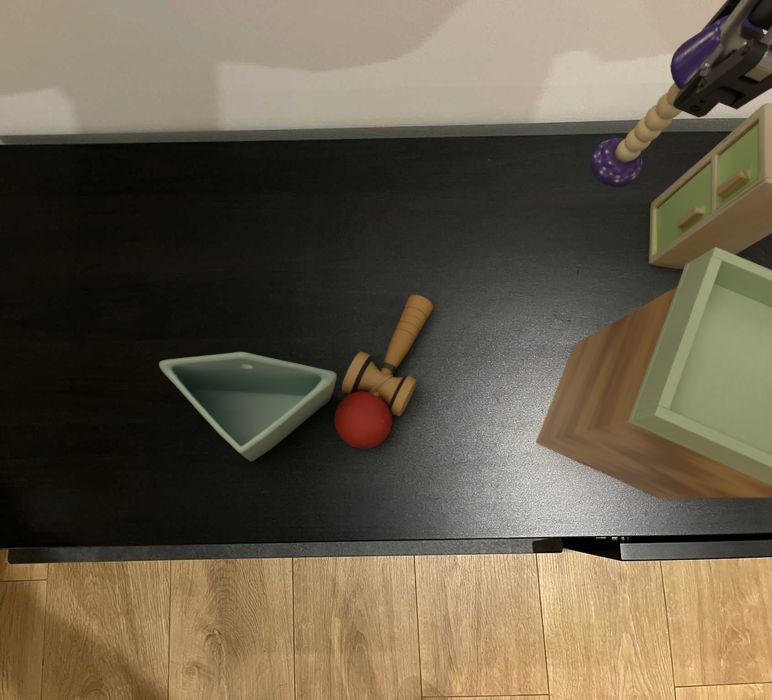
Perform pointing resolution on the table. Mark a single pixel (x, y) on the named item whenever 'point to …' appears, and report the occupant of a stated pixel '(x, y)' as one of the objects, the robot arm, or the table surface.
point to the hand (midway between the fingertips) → (701, 74)
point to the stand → (612, 411)
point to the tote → (715, 365)
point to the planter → (251, 396)
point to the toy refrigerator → (718, 198)
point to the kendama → (380, 384)
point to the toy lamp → (656, 111)
